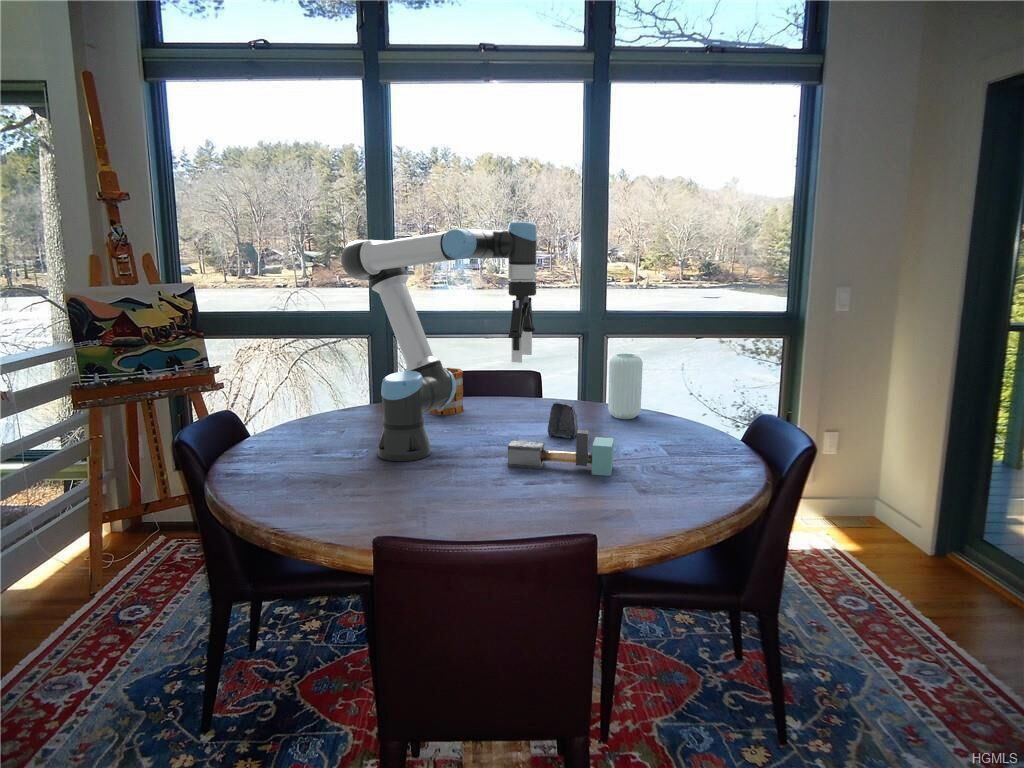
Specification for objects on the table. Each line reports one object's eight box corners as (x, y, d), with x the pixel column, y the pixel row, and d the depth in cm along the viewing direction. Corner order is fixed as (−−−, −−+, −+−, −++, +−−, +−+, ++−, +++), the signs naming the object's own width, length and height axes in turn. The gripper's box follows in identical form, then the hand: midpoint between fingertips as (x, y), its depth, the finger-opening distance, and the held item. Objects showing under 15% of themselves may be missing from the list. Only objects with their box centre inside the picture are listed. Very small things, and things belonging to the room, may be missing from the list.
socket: (591, 474, 172) (592, 445, 170) (594, 465, 180) (595, 437, 178) (610, 475, 171) (611, 446, 169) (612, 466, 179) (613, 438, 177)
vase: (616, 411, 241) (618, 351, 237) (645, 415, 234) (648, 354, 230) (602, 417, 232) (603, 355, 228) (631, 422, 225) (634, 358, 221)
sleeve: (507, 467, 178) (507, 445, 177) (512, 460, 184) (512, 439, 182) (540, 469, 176) (540, 448, 175) (543, 462, 182) (544, 441, 181)
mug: (432, 406, 249) (431, 367, 246) (467, 407, 247) (466, 368, 244) (419, 418, 230) (418, 377, 227) (457, 420, 228) (456, 377, 225)
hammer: (532, 462, 178) (532, 430, 176) (534, 458, 181) (534, 427, 179) (605, 467, 173) (606, 434, 172) (606, 463, 176) (607, 431, 175)
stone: (568, 446, 203) (540, 433, 207) (577, 443, 212) (550, 431, 216) (582, 411, 202) (554, 398, 205) (590, 410, 211) (563, 398, 214)
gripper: (526, 282, 163) (526, 366, 168) (544, 279, 187) (543, 352, 192) (497, 282, 165) (498, 365, 169) (518, 278, 189) (518, 351, 193)
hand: (522, 358), depth 180 cm, fingers open, 13 cm apart
